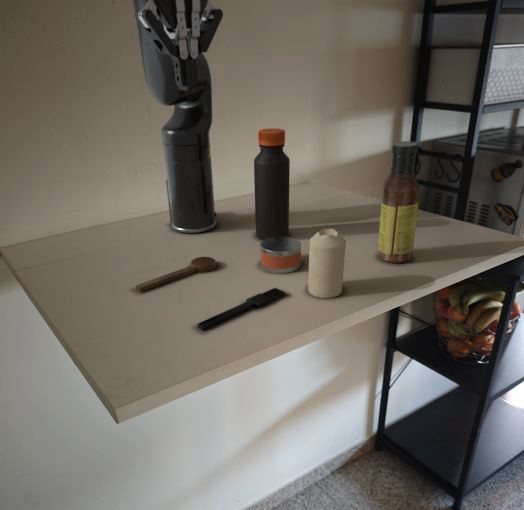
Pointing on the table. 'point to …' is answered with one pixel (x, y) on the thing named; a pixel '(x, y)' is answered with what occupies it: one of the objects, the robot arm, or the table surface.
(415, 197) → the sauce bottle
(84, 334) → the table surface
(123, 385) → the table surface
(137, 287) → the spoon
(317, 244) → the candle
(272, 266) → the tin can
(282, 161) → the vinegar
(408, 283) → the table surface
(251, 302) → the fork
